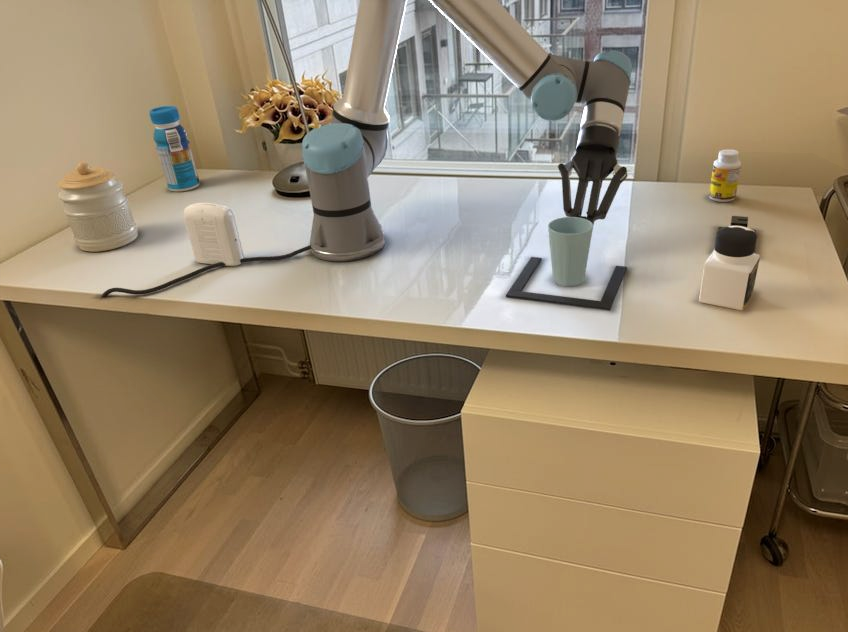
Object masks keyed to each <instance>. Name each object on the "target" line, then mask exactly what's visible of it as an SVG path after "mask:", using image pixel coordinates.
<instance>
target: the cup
mask: <svg viewBox="0 0 848 632" xmlns="http://www.w3.org/2000/svg"><path fill="white" fill-rule="evenodd" d="M593 230H594V225H593V224H592V222H590V221H589V220H587V219H583V218H578V217H567V216H564V217H559V218H555V219H552V220H551V221H549V222H548V224H547V232H548V241H549V250H550V251H549V252H550V261H551V262H550V263H551V271H552V280H553V282H554V283H555V284H556V285H559V286H563V287H577V286H579V285H581V284H583V282H584V281H585V276H586V272H587V267H588V260H589V254H590V247H591V241H592V236H593Z"/></svg>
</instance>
